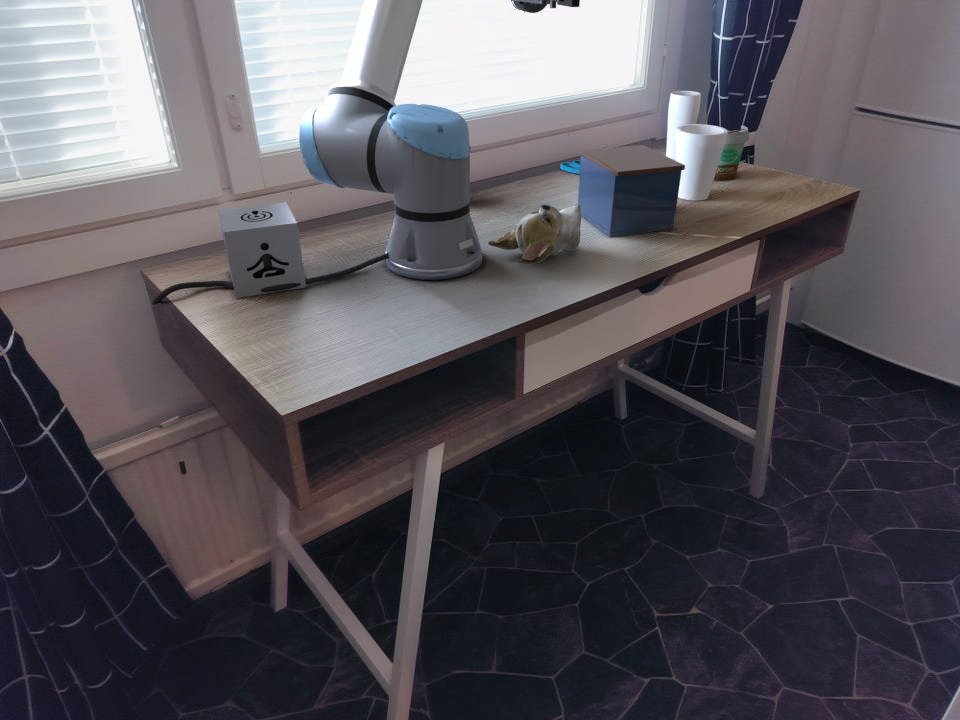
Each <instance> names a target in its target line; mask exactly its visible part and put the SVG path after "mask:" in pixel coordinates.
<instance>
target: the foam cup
mask: <svg viewBox="0 0 960 720" xmlns="http://www.w3.org/2000/svg"><path fill="white" fill-rule="evenodd" d="M727 133H728V129H727V128H725V127H722V126H718V125H713V124H705V123H696V124H686V125H681V126H679V127H678V128H677V130H676V137H675V141H676V161H677V162H679V163H681V164H683V165H685V170H682V171H681V178H680V186H679V193H678V199H681V200H686V201H695V202H696V201H697V202H698V201H704V200H707V199H709V195H710V193H711V190H712V186H713V183H714V181H715V180H714V177H715V173H716V170H717V167H718V164H719V160H720V157H721V154H722V150H723V147H724V145H725V144H726V139H727Z"/></svg>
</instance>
